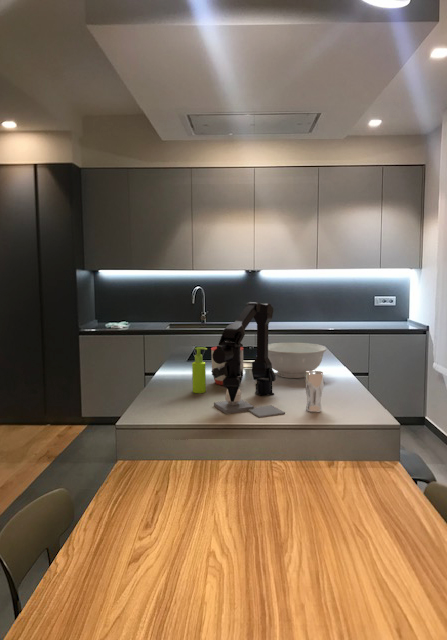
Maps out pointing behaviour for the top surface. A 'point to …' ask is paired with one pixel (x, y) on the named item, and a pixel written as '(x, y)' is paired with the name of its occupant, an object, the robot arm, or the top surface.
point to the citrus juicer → (214, 365)
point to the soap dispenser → (199, 373)
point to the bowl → (295, 358)
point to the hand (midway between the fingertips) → (233, 398)
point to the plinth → (233, 406)
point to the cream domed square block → (237, 398)
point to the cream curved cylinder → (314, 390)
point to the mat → (266, 411)
